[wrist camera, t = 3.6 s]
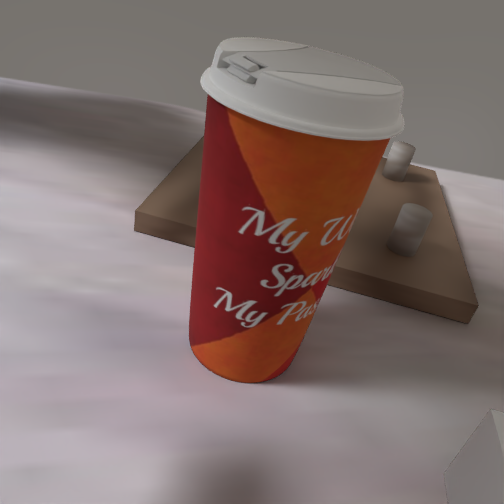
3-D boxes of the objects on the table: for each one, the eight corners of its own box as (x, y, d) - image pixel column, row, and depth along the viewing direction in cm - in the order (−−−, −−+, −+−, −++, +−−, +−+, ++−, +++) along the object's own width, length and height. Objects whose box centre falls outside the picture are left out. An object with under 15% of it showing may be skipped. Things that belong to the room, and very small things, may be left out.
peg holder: (134, 230, 31) (138, 167, 29) (220, 129, 50) (227, 86, 47) (467, 323, 30) (502, 265, 27) (429, 184, 48) (447, 142, 46)
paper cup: (221, 428, 20) (303, 101, 13) (140, 315, 25) (165, 26, 17) (346, 365, 25) (462, 96, 17) (258, 279, 29) (319, 38, 22)
